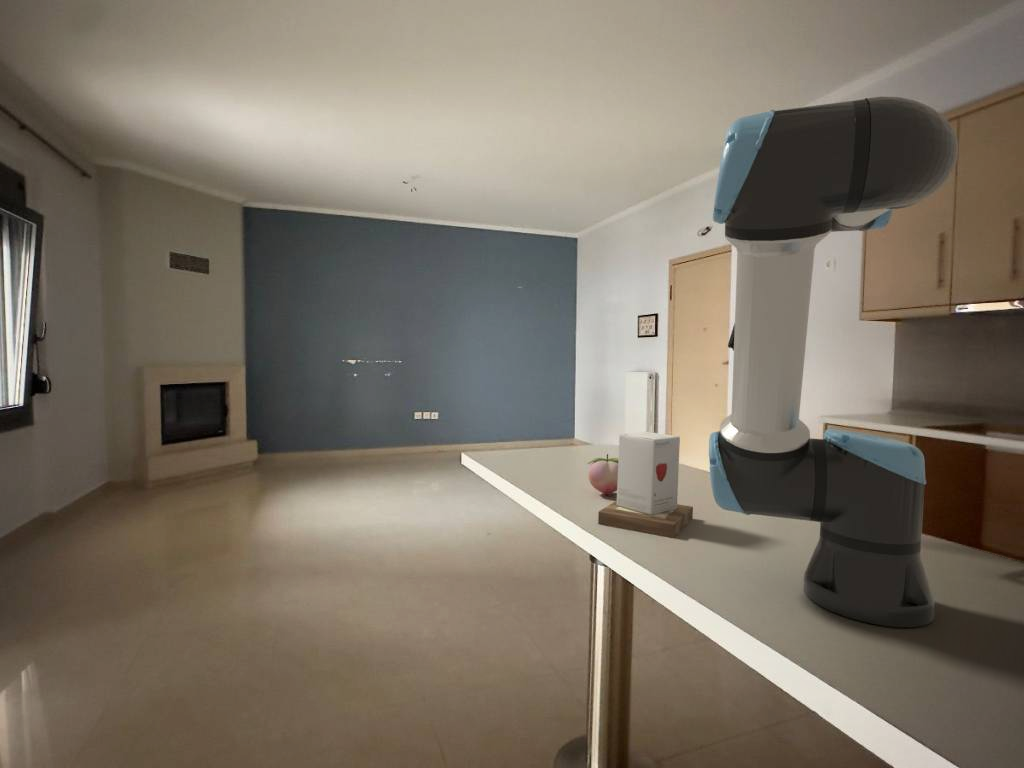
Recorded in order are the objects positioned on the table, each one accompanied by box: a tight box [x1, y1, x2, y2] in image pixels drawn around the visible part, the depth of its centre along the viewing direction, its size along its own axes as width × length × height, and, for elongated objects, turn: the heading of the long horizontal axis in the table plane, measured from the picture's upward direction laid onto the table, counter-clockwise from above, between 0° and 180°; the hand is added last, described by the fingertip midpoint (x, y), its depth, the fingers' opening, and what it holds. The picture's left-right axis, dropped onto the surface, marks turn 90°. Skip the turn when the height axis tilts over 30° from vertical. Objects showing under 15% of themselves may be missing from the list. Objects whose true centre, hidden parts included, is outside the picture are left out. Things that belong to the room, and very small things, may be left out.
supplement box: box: [616, 431, 681, 515], centre depth 111 cm, size 9×9×15 cm
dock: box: [597, 500, 694, 539], centre depth 112 cm, size 15×15×3 cm
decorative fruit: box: [587, 454, 619, 496], centre depth 133 cm, size 9×8×10 cm
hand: (759, 383), depth 109 cm, fingers open, 13 cm apart
